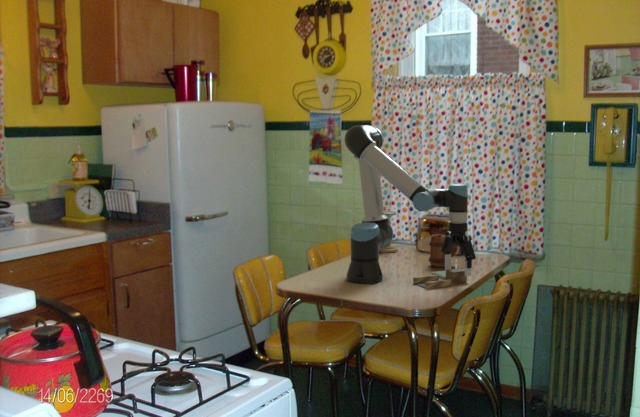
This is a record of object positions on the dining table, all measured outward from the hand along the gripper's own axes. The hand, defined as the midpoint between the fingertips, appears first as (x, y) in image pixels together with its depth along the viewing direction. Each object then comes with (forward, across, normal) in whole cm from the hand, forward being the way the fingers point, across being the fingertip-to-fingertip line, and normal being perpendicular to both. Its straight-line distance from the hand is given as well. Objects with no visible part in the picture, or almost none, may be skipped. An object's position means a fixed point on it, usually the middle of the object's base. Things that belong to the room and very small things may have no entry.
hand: (457, 272), depth 268 cm
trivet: (+4, +10, -3) cm, 11 cm away
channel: (+4, 0, +12) cm, 13 cm away
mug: (+4, +28, -13) cm, 31 cm away
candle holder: (+3, +70, -7) cm, 71 cm away
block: (+4, 0, 0) cm, 4 cm away
